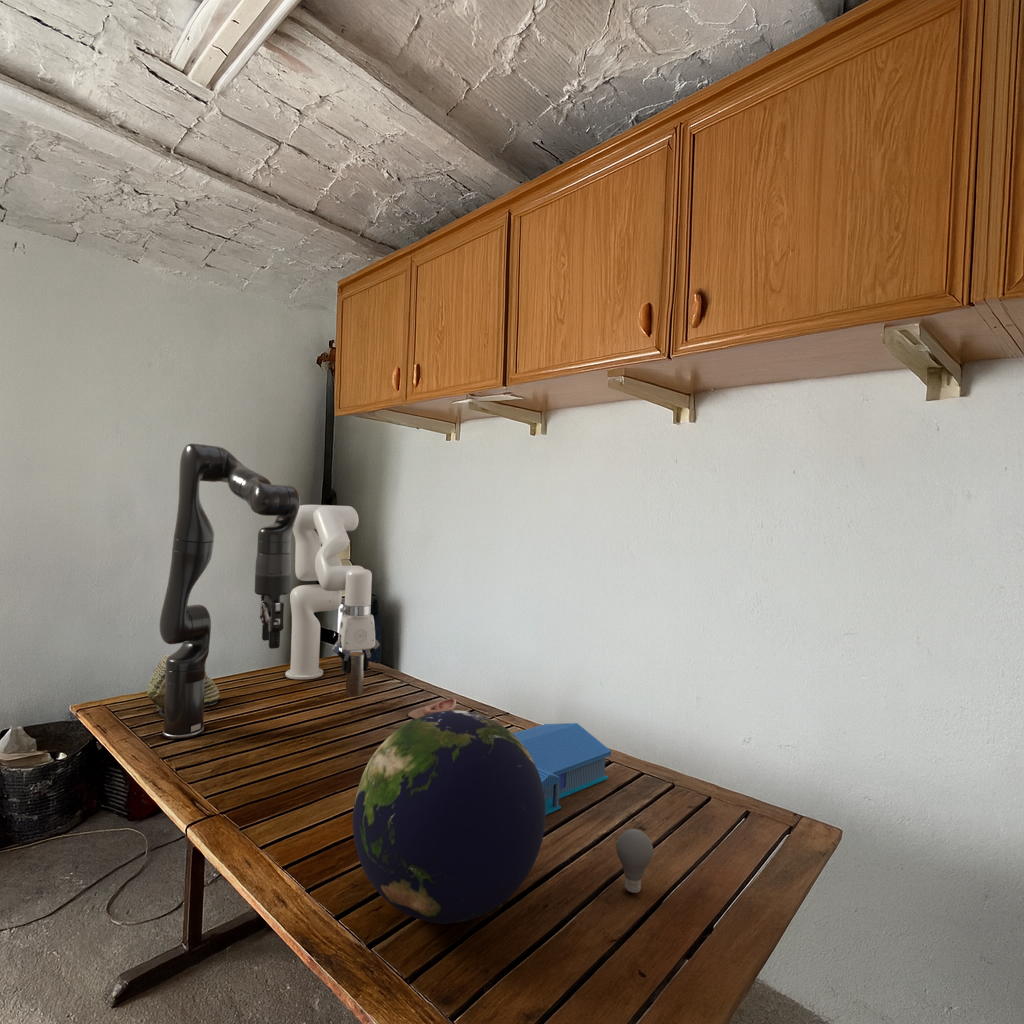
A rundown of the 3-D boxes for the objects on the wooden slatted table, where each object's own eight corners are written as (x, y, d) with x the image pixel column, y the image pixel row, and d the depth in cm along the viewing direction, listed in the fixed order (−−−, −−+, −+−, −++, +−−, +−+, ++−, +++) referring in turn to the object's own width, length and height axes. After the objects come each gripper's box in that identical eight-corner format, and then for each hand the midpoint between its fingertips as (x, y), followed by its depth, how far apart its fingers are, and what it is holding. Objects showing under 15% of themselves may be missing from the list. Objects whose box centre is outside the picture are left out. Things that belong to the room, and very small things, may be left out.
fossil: (144, 707, 182) (145, 655, 182) (212, 696, 194) (213, 647, 194) (151, 716, 175) (153, 662, 175) (221, 703, 188) (223, 653, 188)
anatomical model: (404, 704, 182) (418, 693, 193) (403, 718, 182) (417, 706, 193) (448, 710, 180) (460, 697, 191) (448, 723, 180) (459, 711, 191)
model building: (490, 838, 120) (492, 786, 120) (417, 791, 138) (419, 745, 138) (619, 783, 146) (621, 740, 146) (544, 749, 164) (545, 711, 164)
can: (351, 697, 185) (353, 656, 184) (342, 693, 188) (343, 653, 188) (366, 694, 188) (367, 654, 188) (356, 690, 192) (358, 650, 191)
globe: (306, 934, 92) (314, 729, 91) (413, 836, 119) (420, 678, 119) (495, 1005, 80) (505, 771, 80) (565, 878, 108) (573, 704, 108)
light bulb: (610, 879, 108) (613, 822, 108) (644, 879, 109) (647, 822, 109) (619, 902, 102) (622, 840, 102) (655, 901, 103) (658, 840, 103)
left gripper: (297, 576, 139) (294, 649, 139) (284, 568, 151) (281, 636, 152) (260, 577, 135) (258, 652, 136) (250, 569, 148) (247, 638, 148)
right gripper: (334, 615, 180) (332, 678, 180) (389, 610, 190) (387, 671, 190) (324, 610, 186) (322, 672, 186) (378, 606, 196) (376, 665, 196)
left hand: (270, 644), depth 144 cm, fingers open, 8 cm apart
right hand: (355, 671), depth 188 cm, fingers closed on can, 5 cm apart
